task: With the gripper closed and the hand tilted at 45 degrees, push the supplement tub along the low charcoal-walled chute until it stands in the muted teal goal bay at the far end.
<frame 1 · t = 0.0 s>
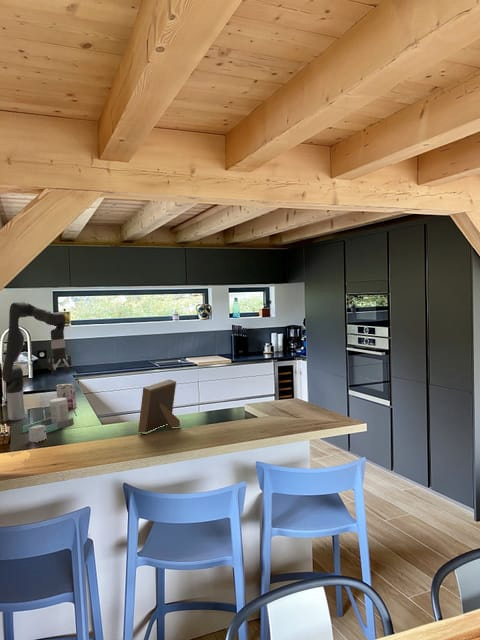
hand: (60, 374, 274), 29 cm above the countertop, tool pointing down, fingers open, 8 cm apart
photo frame: (162, 430, 251), on the countertop
supplement tub: (60, 424, 278), on the countertop
skincare box: (38, 440, 248), on the countertop
candy bar box: (67, 408, 319), on the countertop
chute: (49, 427, 271), on the countertop
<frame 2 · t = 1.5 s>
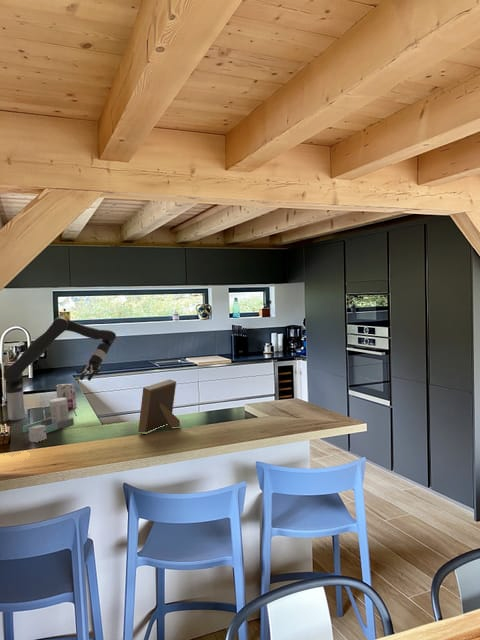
hand: (84, 379, 294), 22 cm above the countertop, tool tilted 45°, fingers open, 6 cm apart
nothing on the countertop moved.
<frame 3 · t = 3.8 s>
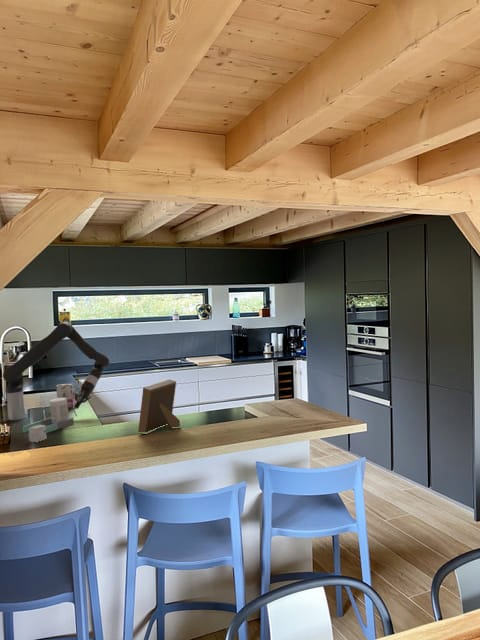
hand: (75, 407, 288), 7 cm above the countertop, tool tilted 45°, fingers closed
nothing on the countertop moved.
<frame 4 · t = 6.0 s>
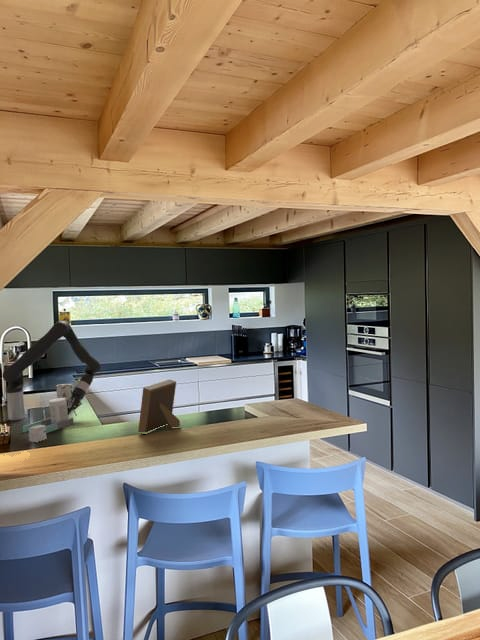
hand: (66, 414, 282), 4 cm above the countertop, tool tilted 45°, fingers closed
supplement tub: (60, 424, 278), on the countertop, touching gripper
everything else where it was.
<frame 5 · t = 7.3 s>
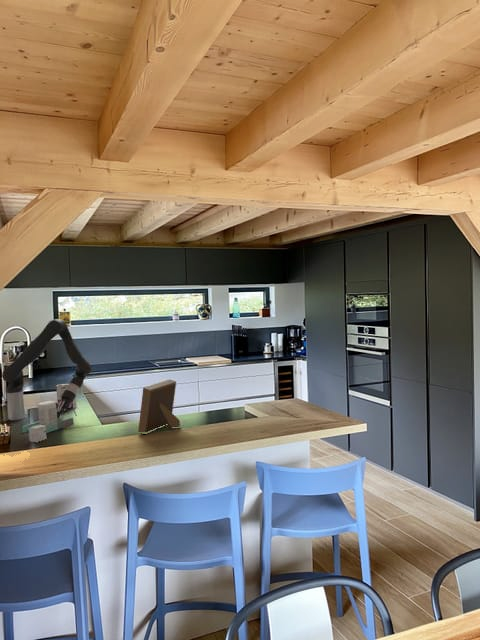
hand: (55, 418, 275), 4 cm above the countertop, tool tilted 45°, fingers closed
supplement tub: (49, 428, 271), on the countertop, touching gripper
everything else where it was.
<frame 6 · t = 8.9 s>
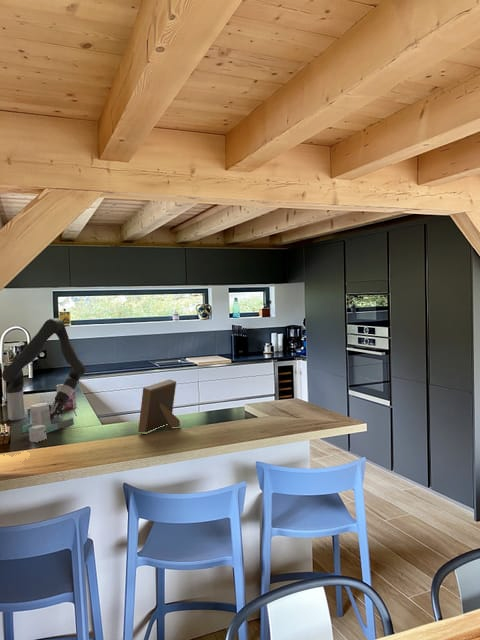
hand: (48, 420, 271), 4 cm above the countertop, tool tilted 45°, fingers closed
supplement tub: (42, 430, 267), on the countertop, touching gripper
everything else where it was.
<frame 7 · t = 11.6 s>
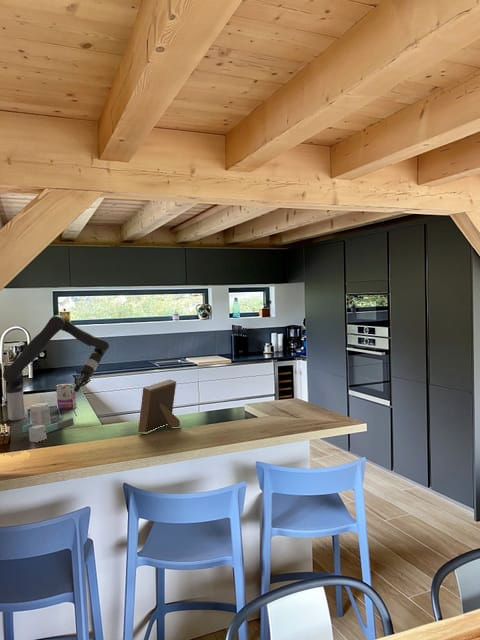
hand: (75, 391, 288), 17 cm above the countertop, tool tilted 45°, fingers closed
supplement tub: (42, 430, 267), on the countertop
everything else where it was.
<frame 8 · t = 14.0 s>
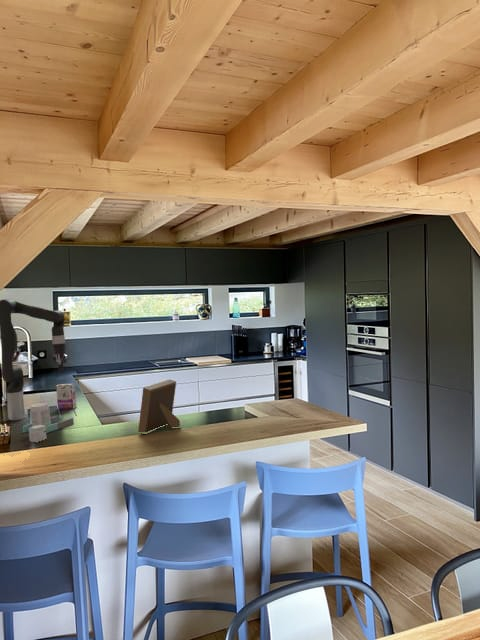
hand: (61, 370, 295), 29 cm above the countertop, tool pointing down, fingers closed
nothing on the countertop moved.
at the end: supplement tub inside the target area (0.4 cm from its centre), on the countertop; supplement tub tilted 0° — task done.
